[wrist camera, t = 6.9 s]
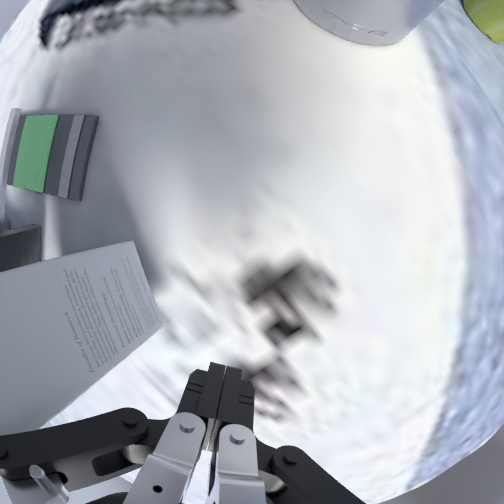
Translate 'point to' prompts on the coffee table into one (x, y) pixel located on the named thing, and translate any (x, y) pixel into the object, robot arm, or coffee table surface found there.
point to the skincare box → (68, 329)
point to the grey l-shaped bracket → (3, 242)
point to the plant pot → (487, 17)
